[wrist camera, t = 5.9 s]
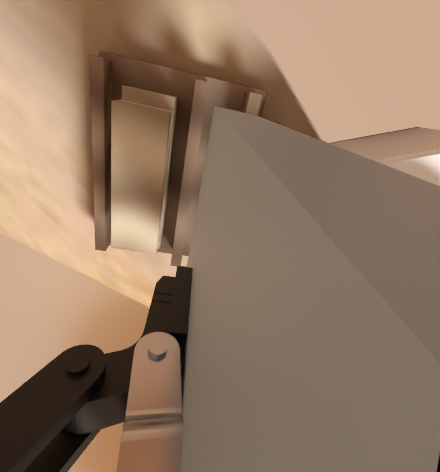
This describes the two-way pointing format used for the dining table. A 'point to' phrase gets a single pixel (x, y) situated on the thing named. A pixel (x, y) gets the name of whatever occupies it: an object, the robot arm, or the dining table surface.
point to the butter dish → (402, 151)
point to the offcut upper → (138, 174)
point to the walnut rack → (184, 143)
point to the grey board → (310, 309)
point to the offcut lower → (158, 102)
